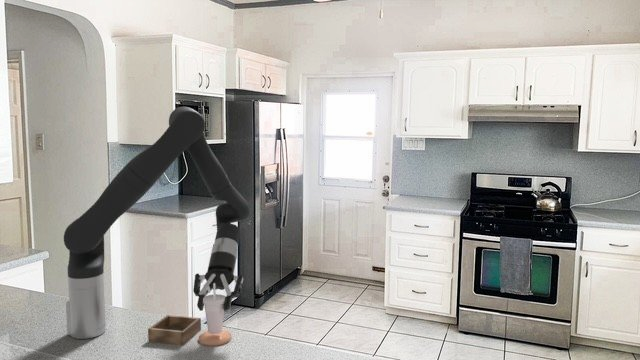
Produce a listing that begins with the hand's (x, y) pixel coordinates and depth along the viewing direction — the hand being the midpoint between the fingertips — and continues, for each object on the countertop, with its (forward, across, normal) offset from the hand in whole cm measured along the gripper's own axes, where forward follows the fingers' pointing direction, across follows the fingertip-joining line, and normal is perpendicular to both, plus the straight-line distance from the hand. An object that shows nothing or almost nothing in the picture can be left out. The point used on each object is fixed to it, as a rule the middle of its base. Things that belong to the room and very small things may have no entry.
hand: (213, 309), depth 138 cm
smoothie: (+4, 0, +6) cm, 7 cm away
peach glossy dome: (+5, 0, +7) cm, 9 cm away
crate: (+4, -12, +8) cm, 15 cm away
